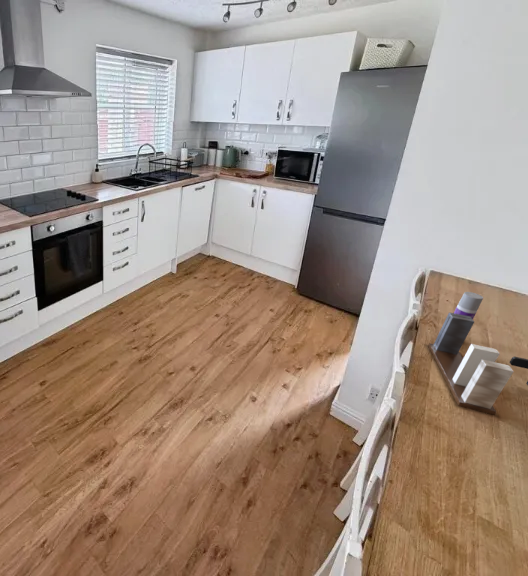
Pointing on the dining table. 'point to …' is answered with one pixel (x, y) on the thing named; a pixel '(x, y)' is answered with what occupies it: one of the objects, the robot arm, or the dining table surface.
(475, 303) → the container
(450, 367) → the book rack
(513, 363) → the robot arm
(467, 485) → the dining table surface
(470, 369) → the white book
